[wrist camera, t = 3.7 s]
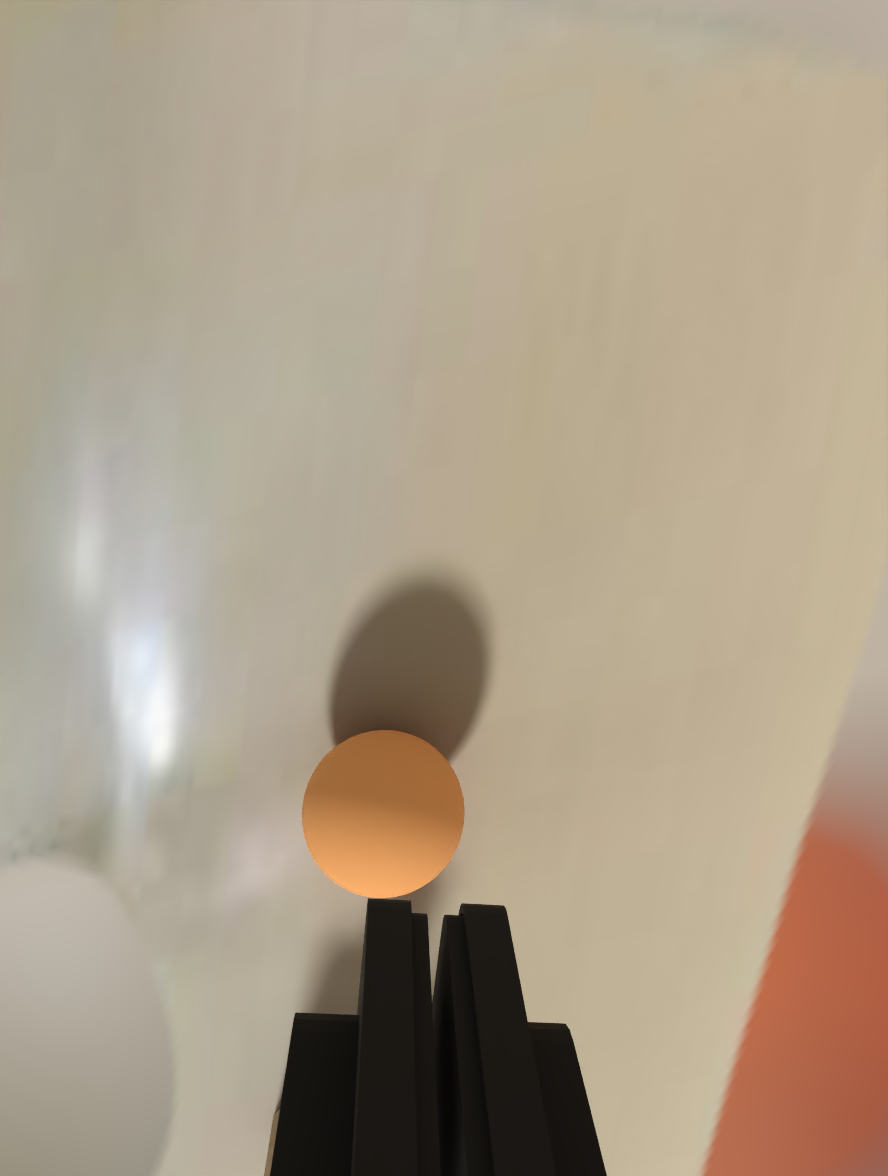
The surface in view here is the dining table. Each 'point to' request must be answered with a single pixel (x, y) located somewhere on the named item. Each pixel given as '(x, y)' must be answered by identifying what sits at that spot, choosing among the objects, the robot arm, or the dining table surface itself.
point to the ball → (383, 813)
